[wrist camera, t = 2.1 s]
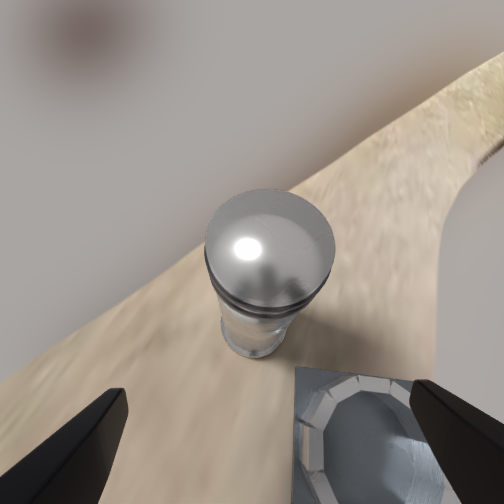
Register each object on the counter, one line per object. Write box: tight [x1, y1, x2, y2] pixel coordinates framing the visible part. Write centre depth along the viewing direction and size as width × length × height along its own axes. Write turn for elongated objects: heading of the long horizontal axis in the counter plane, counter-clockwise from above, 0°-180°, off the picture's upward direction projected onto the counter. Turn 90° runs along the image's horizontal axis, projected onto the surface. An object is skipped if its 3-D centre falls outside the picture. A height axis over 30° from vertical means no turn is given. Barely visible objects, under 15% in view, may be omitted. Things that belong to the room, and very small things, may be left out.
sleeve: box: [291, 366, 460, 504], centre depth 15 cm, size 9×9×3 cm
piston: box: [204, 189, 335, 358], centre depth 14 cm, size 5×5×13 cm
